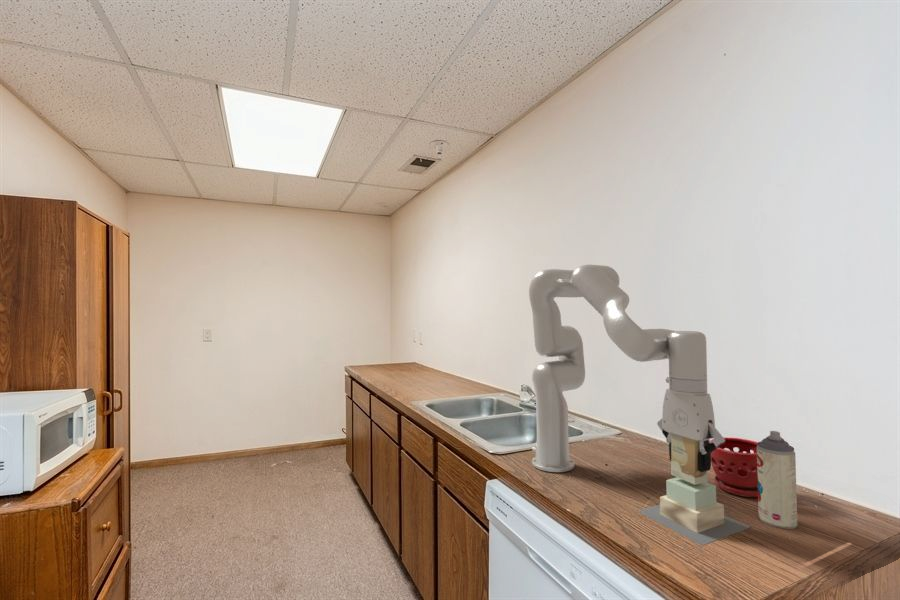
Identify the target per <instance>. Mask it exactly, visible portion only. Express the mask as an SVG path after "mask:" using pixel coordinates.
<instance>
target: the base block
mask: <svg viewBox="0 0 900 600" xmlns="http://www.w3.org/2000/svg"><path fill="white" fill-rule="evenodd" d="M659 504H660V515H662V516H664V517H666V518H668V519H670V520H672V521H674V522H676V523H678V524H680V525H682V526H684V527H686V528H688V529H690V530H692V531H694V532H696V533H699V532H702V531H704V530H707V529H710V528H713V527H716V526H718V525H721V524H724V516H725V505H724V504H722V503H721V502H717V501H716V504H715V505H712V506H709V507H706V508H703V509H700V510H696V511H695V510H693V509H691V508H688V507H686V506H684V505H682V504H679V503H677V502H675V501H673V500H670V499H668V498H667V494H665V495H662V496H659Z"/></svg>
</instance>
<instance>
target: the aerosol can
mask: <svg viewBox="0 0 900 600" xmlns="http://www.w3.org/2000/svg"><path fill="white" fill-rule="evenodd" d="M757 442H758V443H757V444H758V445H757V477H758V497H757V501H758V502H757V505H758V509H757V510H758V512H757V513H758V519H759V520H760V521H761V522H763V523H765V524H766V525H769V526H772V527H774V528H779V529H784V530H786V529H787V530H793V529H796V528H797V527H798V499H797V470H796V469H797V468H796V465H797V464H796V463H797V462H796V461H797V460H796V452H795V448H794V447H793V446H792V445H790V444H789V443H788V441H786V440H785V439H784V438H782V437H781V432H779V431H777V430H770V432H769V435H768V436H765V438H763V439H762V440H761V441H757Z"/></svg>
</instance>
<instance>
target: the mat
mask: <svg viewBox="0 0 900 600" xmlns="http://www.w3.org/2000/svg"><path fill="white" fill-rule="evenodd" d="M636 512H637V513H639V514H641V515H643V516H644V517H647V518H649V519H650V520H652V521H654V522H656V523H659V524H661V525H662V526H664V527H666V528H668V529H670V530H672V531H673V532H675V533H677V534H679V535H682V536H683V537H685V538H687V539H689V540H691V541H692V542H695V543H696V544H699V545H700V546H705V545H708V544H711V543H714V542H716V541H718V540H721V539H723V538H726V537H729V536H732V535H733V534H736V533H740V532H742V531H745V530H748V529H750V528H751V526H749V525H747V524H745V523H742V522H740V521H738V520H736V519H733V518H731V517H729V516H726V515H724V524H721V525H718V526H716V527H713V528H710V529H707V530H704V531H702V532H699V533H696V532H694V531H692V530H690V529H688V528H686V527H684V526H682V525H680V524H678V523H676V522H674V521H672V520H670V519H668V518H666V517H664V516H662V515H660V503H659V504H656V505H653V506H650V507H646V508H643V509H640V510H637V511H636Z"/></svg>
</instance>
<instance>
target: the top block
mask: <svg viewBox="0 0 900 600" xmlns="http://www.w3.org/2000/svg"><path fill="white" fill-rule="evenodd" d="M665 484H666V485H665V486H666V487H665V488H666V492H665V493H666V495H667V498H668V499H670V500H673V501H675V502H677V503H679V504H682V505H684V506H686V507H688V508H691V509H693V510H695V511H696V510H700V509H703V508H706V507H709V506H712V505H715V504H716V502H717V485H716V484H715V485H714V484H712V483H709V482H704V483H700V484H696V485H694V484H692V483H690V482H687V481H685V480H683V479H680V478H678V477H676V476H675V477H673V478H668V479H667V480H665Z"/></svg>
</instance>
